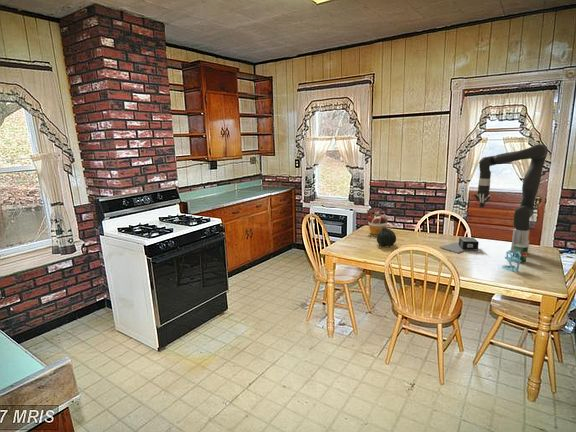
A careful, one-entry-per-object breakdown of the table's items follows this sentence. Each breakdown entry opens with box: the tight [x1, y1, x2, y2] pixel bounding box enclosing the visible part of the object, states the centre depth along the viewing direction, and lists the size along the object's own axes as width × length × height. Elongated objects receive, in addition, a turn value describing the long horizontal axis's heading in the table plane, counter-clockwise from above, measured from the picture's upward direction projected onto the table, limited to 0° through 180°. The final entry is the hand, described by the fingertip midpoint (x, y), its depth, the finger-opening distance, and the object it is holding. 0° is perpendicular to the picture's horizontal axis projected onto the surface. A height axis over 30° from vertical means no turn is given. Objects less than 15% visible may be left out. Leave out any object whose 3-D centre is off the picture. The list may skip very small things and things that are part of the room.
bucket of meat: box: [365, 209, 389, 236], centre depth 302 cm, size 20×16×20 cm
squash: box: [376, 227, 397, 248], centre depth 270 cm, size 14×15×15 cm
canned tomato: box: [512, 244, 529, 264], centre depth 230 cm, size 8×8×11 cm
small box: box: [458, 236, 480, 251], centre depth 257 cm, size 11×6×10 cm
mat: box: [439, 241, 469, 254], centre depth 260 cm, size 15×20×1 cm
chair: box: [501, 249, 522, 273], centre depth 217 cm, size 8×8×12 cm
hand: (481, 207), depth 259 cm, fingers closed
